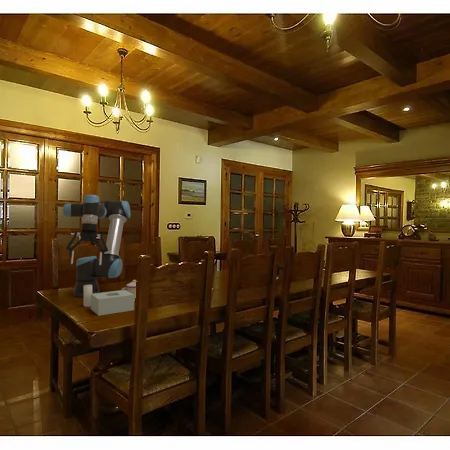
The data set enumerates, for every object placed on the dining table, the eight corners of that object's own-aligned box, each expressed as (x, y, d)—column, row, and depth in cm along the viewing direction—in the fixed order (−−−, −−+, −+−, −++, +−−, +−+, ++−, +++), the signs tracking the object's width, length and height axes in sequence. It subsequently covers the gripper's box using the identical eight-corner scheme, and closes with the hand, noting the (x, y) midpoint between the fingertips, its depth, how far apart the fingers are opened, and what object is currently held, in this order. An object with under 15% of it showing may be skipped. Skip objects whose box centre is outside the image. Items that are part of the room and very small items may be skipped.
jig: (90, 309, 177) (90, 293, 177) (124, 304, 187) (124, 289, 187) (98, 315, 166) (98, 299, 165) (134, 310, 176) (134, 294, 176)
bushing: (82, 305, 184) (82, 285, 184) (91, 304, 187) (91, 284, 187) (84, 307, 181) (84, 286, 180) (93, 306, 183) (93, 285, 183)
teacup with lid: (143, 298, 202) (143, 278, 202) (140, 302, 193) (140, 281, 193) (122, 298, 201) (123, 278, 201) (119, 302, 192) (119, 281, 192)
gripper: (63, 220, 171) (59, 262, 167) (115, 224, 182) (112, 264, 178) (63, 222, 177) (59, 263, 173) (112, 227, 188) (110, 265, 184)
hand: (86, 264), depth 175 cm, fingers open, 13 cm apart
